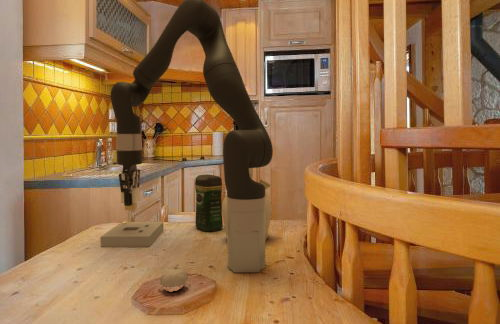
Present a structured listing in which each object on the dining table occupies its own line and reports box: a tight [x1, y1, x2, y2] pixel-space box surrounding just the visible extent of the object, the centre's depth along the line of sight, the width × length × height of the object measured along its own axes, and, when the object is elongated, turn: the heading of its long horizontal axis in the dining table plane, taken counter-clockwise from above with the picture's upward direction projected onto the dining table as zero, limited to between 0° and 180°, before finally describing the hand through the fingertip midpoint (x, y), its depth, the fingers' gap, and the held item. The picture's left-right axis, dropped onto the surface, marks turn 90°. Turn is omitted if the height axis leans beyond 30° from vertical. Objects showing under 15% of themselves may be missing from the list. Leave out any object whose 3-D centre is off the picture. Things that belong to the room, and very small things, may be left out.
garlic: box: [159, 263, 189, 288], centre depth 81 cm, size 6×5×5 cm
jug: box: [222, 168, 273, 241], centre depth 119 cm, size 15×16×25 cm
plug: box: [120, 187, 141, 211], centre depth 120 cm, size 4×4×6 cm
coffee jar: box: [194, 173, 224, 232], centre depth 132 cm, size 10×8×19 cm
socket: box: [100, 221, 164, 248], centre depth 121 cm, size 18×14×4 cm
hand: (130, 203), depth 120 cm, fingers closed on plug, 4 cm apart
